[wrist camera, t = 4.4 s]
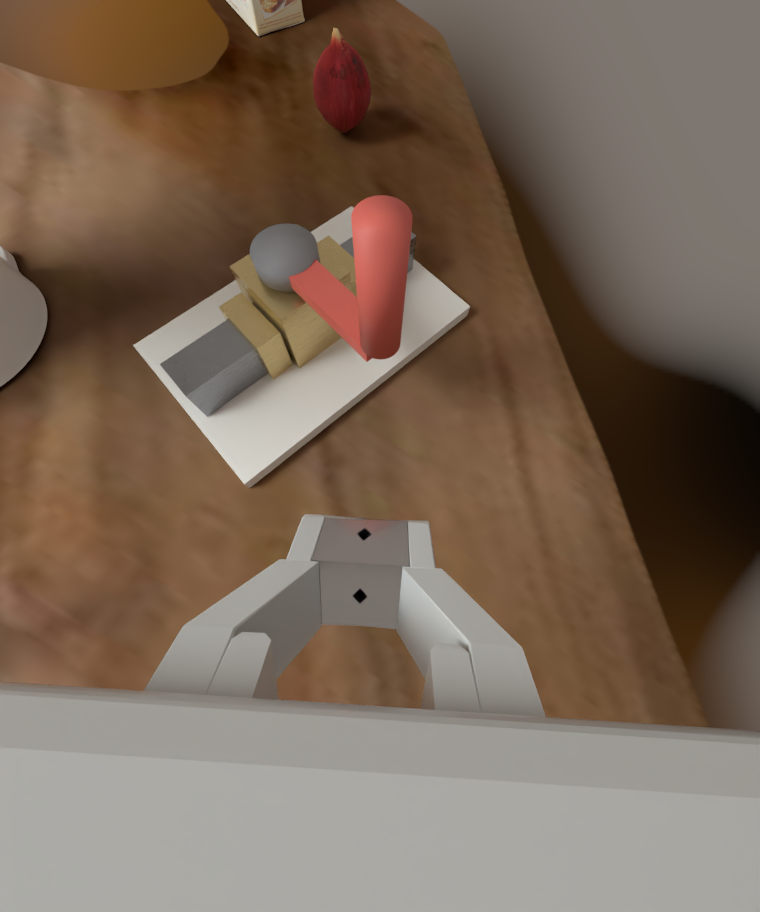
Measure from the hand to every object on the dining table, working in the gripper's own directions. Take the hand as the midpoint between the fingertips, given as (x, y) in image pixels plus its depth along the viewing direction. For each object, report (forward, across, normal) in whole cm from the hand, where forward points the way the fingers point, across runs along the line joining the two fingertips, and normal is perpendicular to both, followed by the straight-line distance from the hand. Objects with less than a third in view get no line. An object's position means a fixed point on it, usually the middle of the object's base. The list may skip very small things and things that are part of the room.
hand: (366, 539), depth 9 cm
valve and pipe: (+26, +7, -1) cm, 27 cm away
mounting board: (+26, +7, -1) cm, 27 cm away
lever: (+19, +4, -4) cm, 20 cm away
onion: (+46, +6, -20) cm, 50 cm away
